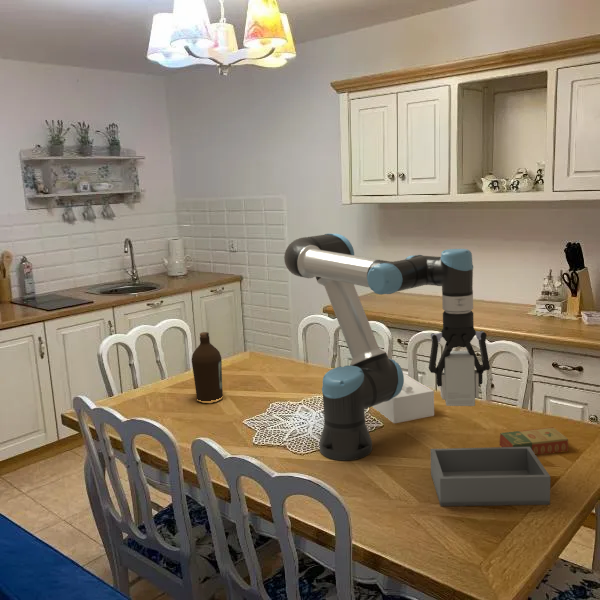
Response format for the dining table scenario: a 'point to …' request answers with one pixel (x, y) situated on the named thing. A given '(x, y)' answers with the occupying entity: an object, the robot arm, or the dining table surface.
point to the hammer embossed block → (408, 402)
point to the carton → (536, 440)
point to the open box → (489, 477)
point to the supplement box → (459, 379)
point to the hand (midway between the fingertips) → (459, 396)
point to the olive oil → (207, 370)
